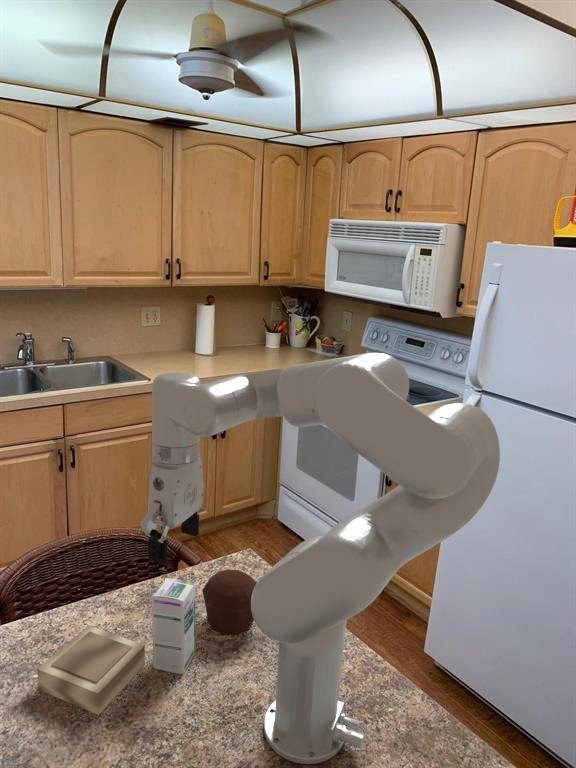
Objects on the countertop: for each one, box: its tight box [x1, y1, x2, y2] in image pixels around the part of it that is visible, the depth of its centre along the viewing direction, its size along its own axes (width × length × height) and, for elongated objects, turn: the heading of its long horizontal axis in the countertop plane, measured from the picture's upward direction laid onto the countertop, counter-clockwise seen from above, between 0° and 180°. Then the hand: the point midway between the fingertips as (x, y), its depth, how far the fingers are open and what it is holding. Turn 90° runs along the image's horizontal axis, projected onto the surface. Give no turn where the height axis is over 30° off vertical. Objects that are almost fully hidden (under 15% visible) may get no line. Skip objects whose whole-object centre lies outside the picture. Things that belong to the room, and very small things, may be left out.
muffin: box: [202, 569, 257, 637], centre depth 111 cm, size 12×11×10 cm
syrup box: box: [151, 577, 196, 675], centre depth 99 cm, size 6×6×14 cm
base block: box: [37, 624, 146, 716], centre depth 96 cm, size 12×12×4 cm
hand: (174, 546), depth 96 cm, fingers open, 9 cm apart
